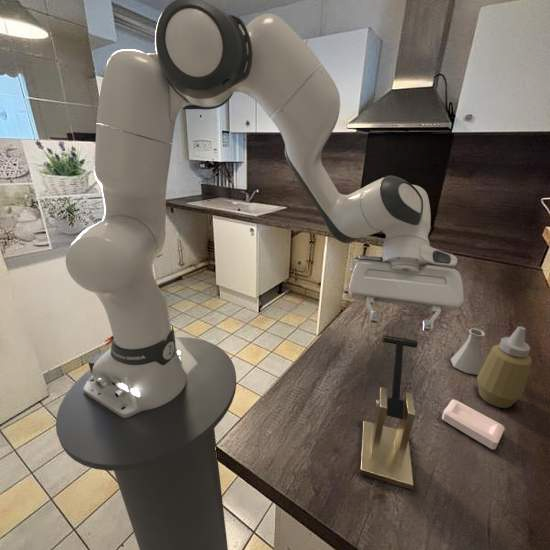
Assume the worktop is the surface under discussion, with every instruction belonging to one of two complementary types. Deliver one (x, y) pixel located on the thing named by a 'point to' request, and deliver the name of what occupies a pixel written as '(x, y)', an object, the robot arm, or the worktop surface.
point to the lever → (397, 376)
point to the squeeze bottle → (505, 371)
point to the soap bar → (473, 423)
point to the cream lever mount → (388, 444)
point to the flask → (470, 353)
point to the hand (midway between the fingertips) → (399, 326)
